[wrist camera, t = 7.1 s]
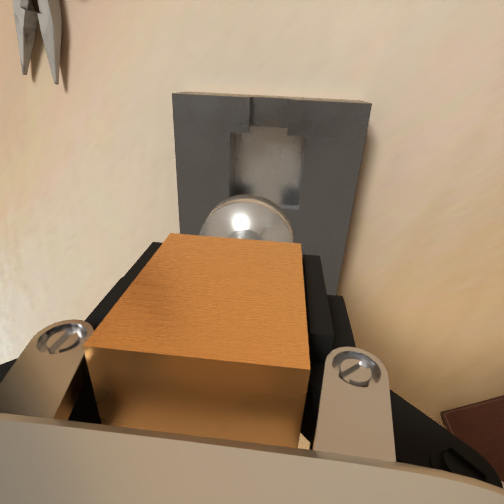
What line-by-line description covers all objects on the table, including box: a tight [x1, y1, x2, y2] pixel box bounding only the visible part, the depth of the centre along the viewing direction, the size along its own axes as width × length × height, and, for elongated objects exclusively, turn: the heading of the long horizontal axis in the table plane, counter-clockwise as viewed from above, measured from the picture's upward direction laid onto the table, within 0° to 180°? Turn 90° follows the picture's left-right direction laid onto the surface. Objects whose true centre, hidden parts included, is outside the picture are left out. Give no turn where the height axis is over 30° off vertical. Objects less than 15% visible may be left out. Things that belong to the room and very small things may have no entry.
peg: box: [83, 194, 310, 448], centre depth 11 cm, size 4×4×10 cm
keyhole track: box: [172, 92, 372, 295], centre depth 31 cm, size 14×24×4 cm, turn 178°
